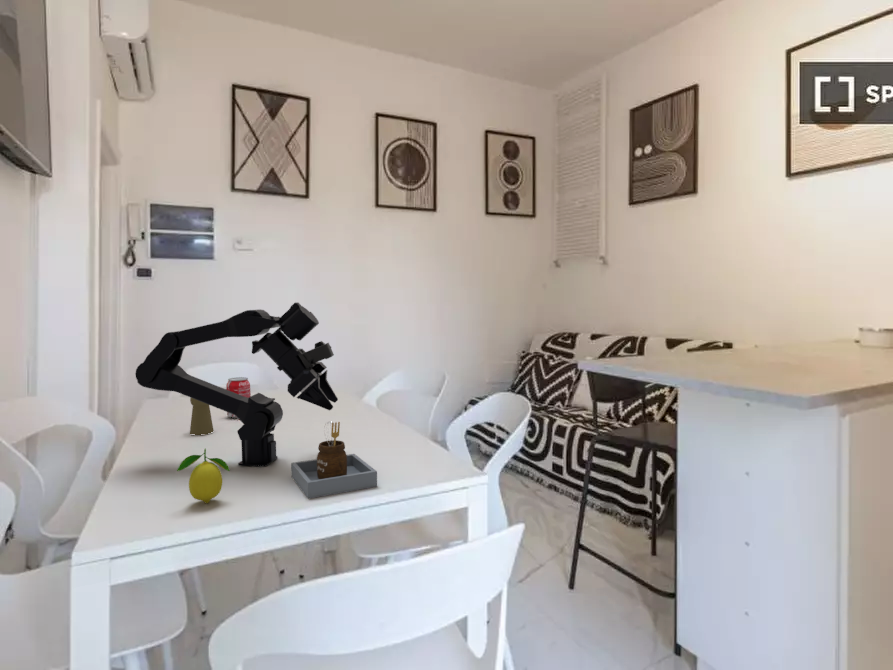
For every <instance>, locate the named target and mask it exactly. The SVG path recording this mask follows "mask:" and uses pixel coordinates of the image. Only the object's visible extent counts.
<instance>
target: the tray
mask: <svg viewBox="0 0 893 670" xmlns="http://www.w3.org/2000/svg"><path fill="white" fill-rule="evenodd" d="M346 455H347V475H343V476H337V477H331V478H325V479H318V476H317V458H316V459H309V460H303V461H294V462H291V463H290V467H291V468H290V471H291V472H290V473H291V474H290V475H291V478H292V480H293V479H294V480H293V481H294V482H295V484H296V485H297V486H298V488H299V489H300V490H301V491H302V493H303V494H304V496H305V497H306V498H307V499H308V500H309V499H314V498H318V497H325V496H330V495H331V496H332V495H336V494H341V493H343V494H344V493H346V492H355V491H358V490H363V489H368V488H369V489H370V488H374V487H375V488H376V487H378V471H377V470H376V469H374V468H373V466H371V465H370V464H369V463H367V462H366V461H364V460H363V459H362V458H360V457H359V456H358V455H356V454H355V453H351V454H346Z"/></svg>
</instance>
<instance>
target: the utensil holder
mask: <svg viewBox="0 0 893 670" xmlns="http://www.w3.org/2000/svg"><path fill="white" fill-rule="evenodd" d="M329 423H330V425H331V433H330V431H329V429H327V434H326V431H323V432H324V437H326V436H327V437H326V438H328V439H325V441H322V442H319V443H318V449H317V450H318V451H319V452H317V455H316V459H317V476H318V479H325V478H331V477H337V476H343V475H347V455H348V454H347V452H346V451H345V449H346V445H345V442H344V441H343V440H337V438H338V437H339V436H340V428H341V427H340V424H341V422H340V421H338V423H337V421H335V423H334V422H333V421H331V422H330V421H327V422H326V423H325V424H324V428H326V426H327V425H329ZM329 434H330V437H331V440H330V438H329Z"/></svg>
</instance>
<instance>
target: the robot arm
mask: <svg viewBox="0 0 893 670" xmlns="http://www.w3.org/2000/svg"><path fill="white" fill-rule="evenodd" d="M319 323H320V322H319V320H318V319H317V317H316V316H315V315H314V313H313V312H312V311H310V310H308V309H307V308H306V307H305V306H303V305H301V304H300V302H294V303H292V304H291V305H290V307H289V309H288V310H286V311H285V313H284V314H282V315H281V316H275V315H273V316H272V315H270V313H269V312H267V311H266V310H264V309H260V308H259V309H249V310H245V311H242V312H239V313H237V314H236V315H232V316H231V317H229V318H227V319H225V320H222V321H218V322H215V323H209V324H205V325H201V326H196V327H191V328H188V329H184V330H178V331H170V332H169V331H168V332H166V333H164V335H163V336H162V337H161V339H160V340H159V342H158V344H157V345H156V346H155V347H154V348H153V349H152V350H151V352H150V353H148V355H147V356H146V357H145V359H144V361H143V362H142V363H140V364H139V365H138V366H137V368H136V369H135V373H134V374H135V380H137V383H138V385H139V386H141V387H142V388H147V389H152V390H157V391H162V392H163V391H165V392H175V393H178V394H180V395H184V396H186V397H188V398H193V399H196V400H198V401H201V402H203V403H206V404H208V405H209V406H211V407H214V408H216V409H219V410H221V411H223V412H226V413H227V412H229V413H231V414H234V415H235V416H236V417H237V418H238V420H239V421H240V422H241V423H242V424H243V425H241V427H240V428H239V429H238V430H237V435H238V438H239V440H240V442H241V461H239V462H238V463H237V466H248V467H266V466H268V465H269V464H271V463H273V462H274V461H276V460H277V459H278V458H279V456H278V455H277V441H276V440H275V433H271V432H274V430H275V429H276V426H277V425H278V424H279V423H280V422H281V421H282V418H283V416H284V411H283V408H282V406H281V404H280V403H279V402H276V398H275V397H274V398H273V397H271V398H270V397H268V396H265V395H264V394H263V393H260V392H257V393H255V394H254V395H251V397H249V398H248V397H244V396H241V395H239V394H236V393H234V392H231V391H229V390H226V388H223V387H221V386H218V385H215V384H213V383H211V382H208V381H205V380H203V379H201V378H198V377H195V376H192V375H190V374H188V373H187V372H186V371H185V370H184V368H182V366H180V365H179V363H180V362H181V360H182V358H183V352H184V350H185V349H186V347H188V346H189V347H191V346H193V345H194V346H195V345H199V344H202V343H203V344H204V343H208V342H212V341H217V340H221V339H225V338H242V337H243V338H245V337H255V336H261V335H263V336H262V337H261V338H260V339H258V340H256V339H255V340H253V341H252V342H251V345H252V348H251V354H252V355H255V354H257V353H259V352H260V351H263V352H264V353H265V354H266V355H267V356H268V357H269V358H270V360H272V361H273V362H274V363H275V365H277V367H276V369H277V370H279V372H281V371H282V372H283V373H284V374H285V375H286V376H287V377H288V378H289V379H290V382H289V383H288V384H287V392H288V393H289V394H290V395H291V396H292V397H293V398H295V397H296V398H297V399H298V400H299V399H300V400H302V401H305V402H308V403H310V404H313V405H315V406H317V407H321V408H323V409H325V410H327V411H332V410H333V408H334V406H333V404H332V403H337V401H338V400H339V399H338V397H337V395H336V393H335V391H334V390H333V388H332V386H331V385H330V382H329V381H328V369H327V365H325V364H324V363H323V362H322V361H323V360H328V359H331V358H332V357H333V356H334V355H335V354H334V351H333V350H332V346H331V345H330V342H327V343H325V342H323V341H322V340H320V341H318V342H316V343H314V348H311V349H309V350H307V351H305V350H304V349H303V348H298V347H297V346H296V345H295V344H294V342H292V341H295V340H297V341H302V340H303V339H304V338H305V337H306V336H307V335H308V334H309V333H310V332H312V330H314V329H315V327H317V326H318V325H319ZM274 328H277V329H276V330H275V331H274V332H270V330H271V329H274Z"/></svg>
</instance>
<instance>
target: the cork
mask: <svg viewBox="0 0 893 670" xmlns="http://www.w3.org/2000/svg"><path fill="white" fill-rule="evenodd" d="M189 398H190V399H189V400H190V404H191V405H192V408H191V409H192V410H191V418H190V425H189V427H190V428H189V435H190V434H195V435H200V436H202V435H201V434H207V435H209V434H208V433H211V432H213V431H214V425H213V419H212V413H211V408H210V405H208V404H206V403H203V402H201V401H198V400H196V399H193V398H191V397H189ZM213 433H214V432H213ZM211 434H212V433H211Z"/></svg>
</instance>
